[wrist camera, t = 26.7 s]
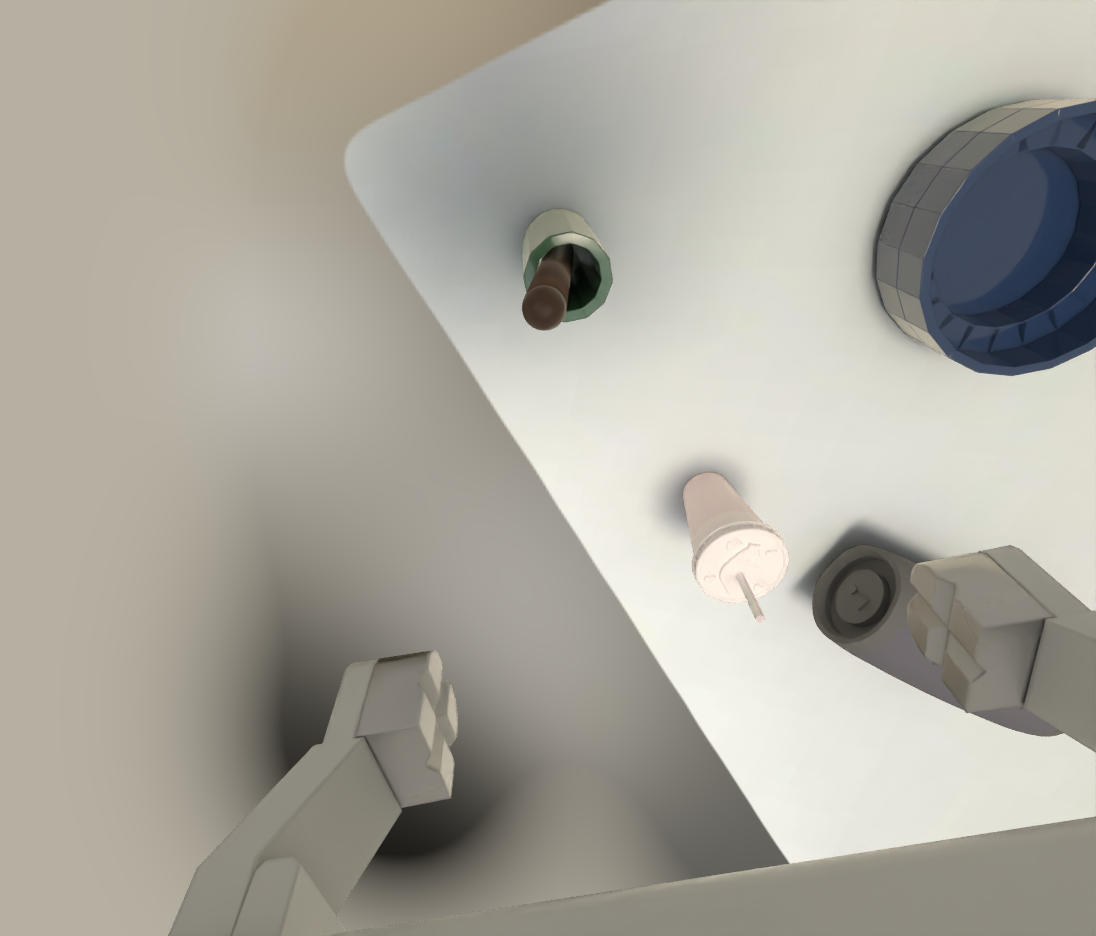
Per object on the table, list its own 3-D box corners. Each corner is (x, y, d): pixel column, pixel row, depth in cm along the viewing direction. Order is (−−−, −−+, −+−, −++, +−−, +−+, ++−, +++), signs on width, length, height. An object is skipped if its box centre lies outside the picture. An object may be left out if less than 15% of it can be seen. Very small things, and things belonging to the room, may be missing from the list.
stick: (544, 239, 41) (515, 294, 25) (571, 233, 41) (560, 285, 25) (549, 268, 42) (525, 339, 26) (576, 262, 41) (569, 331, 25)
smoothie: (654, 517, 52) (696, 641, 40) (682, 449, 49) (736, 562, 37) (727, 531, 53) (789, 657, 41) (758, 466, 50) (835, 581, 38)
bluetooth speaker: (787, 589, 57) (837, 676, 48) (862, 512, 53) (930, 592, 44) (961, 675, 63) (1032, 766, 54) (1038, 612, 59) (1128, 699, 51)
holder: (516, 217, 41) (515, 243, 33) (587, 201, 40) (604, 224, 32) (531, 288, 43) (534, 329, 35) (599, 274, 43) (617, 311, 35)
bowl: (878, 131, 39) (934, 135, 34) (1136, 75, 38) (1234, 69, 33) (866, 363, 46) (910, 396, 41) (1082, 320, 46) (1155, 348, 40)
